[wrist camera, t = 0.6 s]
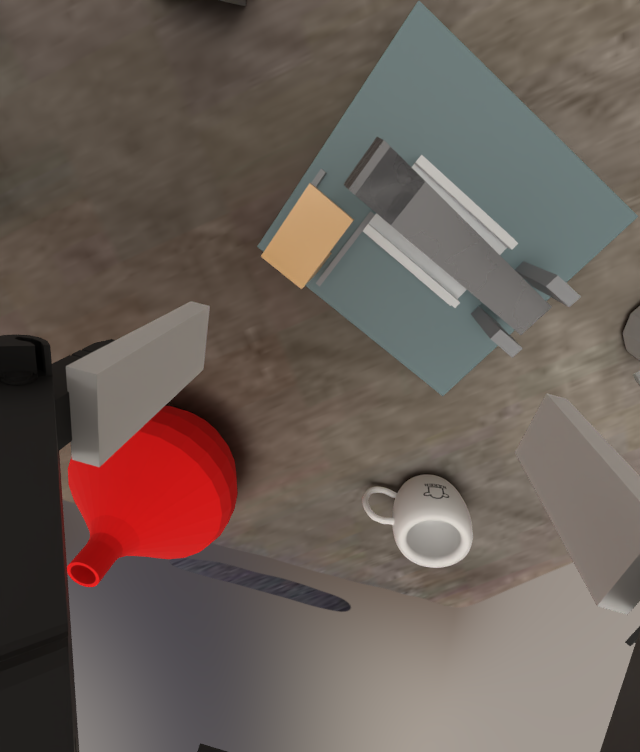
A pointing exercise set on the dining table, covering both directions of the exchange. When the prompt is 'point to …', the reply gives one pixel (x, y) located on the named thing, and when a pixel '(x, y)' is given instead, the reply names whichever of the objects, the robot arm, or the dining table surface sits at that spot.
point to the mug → (427, 521)
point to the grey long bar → (443, 235)
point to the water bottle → (633, 337)
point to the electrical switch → (236, 2)
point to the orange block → (307, 236)
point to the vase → (154, 494)
